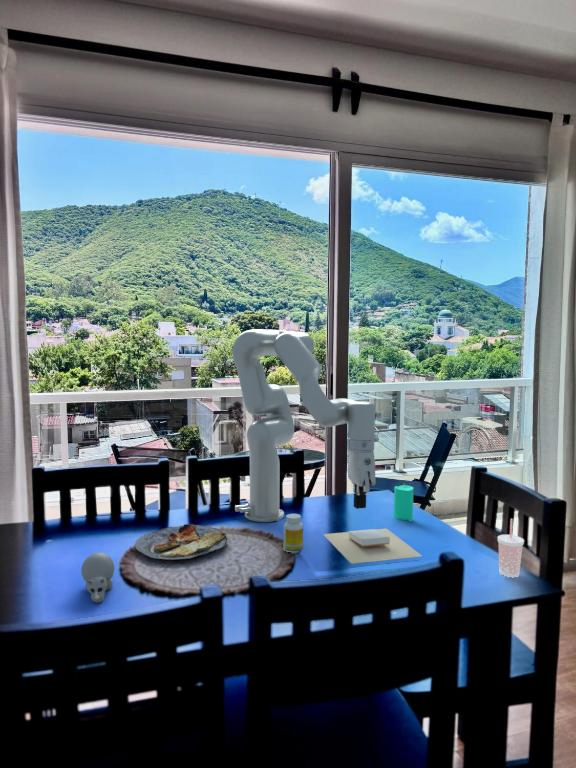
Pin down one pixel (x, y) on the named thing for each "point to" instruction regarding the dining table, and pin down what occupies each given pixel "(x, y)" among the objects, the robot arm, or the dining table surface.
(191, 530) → the food plate
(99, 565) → the round bodied animal figurine
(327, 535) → the cork mat
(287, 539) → the supplement bottle
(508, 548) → the beverage cup
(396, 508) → the candle
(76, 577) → the dining table surface
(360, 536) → the tile
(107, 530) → the dining table surface
